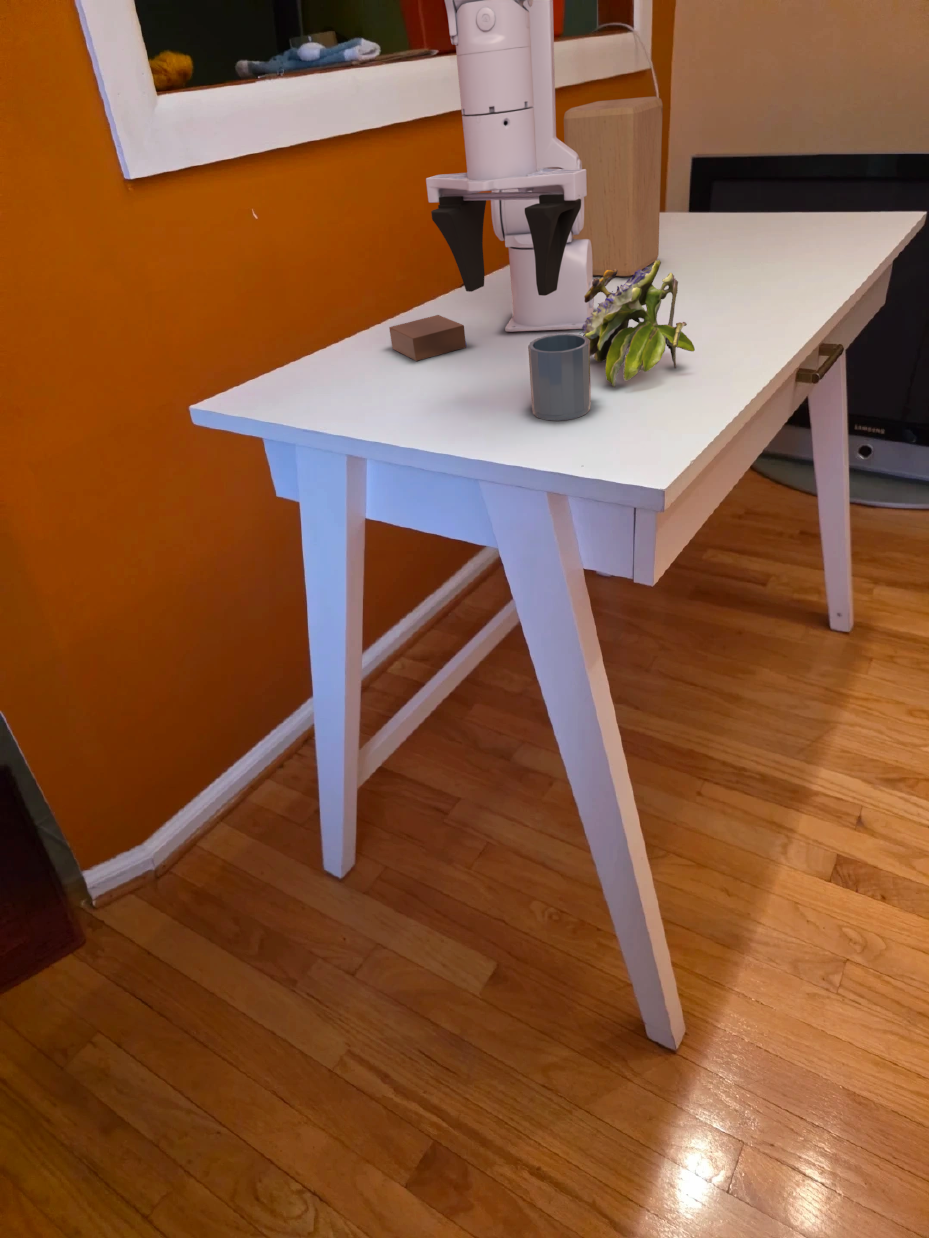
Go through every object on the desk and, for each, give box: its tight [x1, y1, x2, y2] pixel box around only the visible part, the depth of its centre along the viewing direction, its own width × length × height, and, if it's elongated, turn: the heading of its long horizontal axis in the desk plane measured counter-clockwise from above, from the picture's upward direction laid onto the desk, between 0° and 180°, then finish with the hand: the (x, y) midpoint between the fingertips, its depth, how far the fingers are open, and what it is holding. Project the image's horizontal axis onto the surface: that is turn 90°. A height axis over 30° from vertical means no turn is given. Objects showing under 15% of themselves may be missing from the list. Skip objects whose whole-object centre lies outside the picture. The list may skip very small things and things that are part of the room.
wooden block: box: [563, 95, 664, 278], centre depth 109 cm, size 10×10×20 cm
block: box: [388, 314, 467, 362], centre depth 93 cm, size 6×6×2 cm
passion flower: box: [579, 259, 696, 388], centre depth 78 cm, size 11×11×12 cm
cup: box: [527, 333, 592, 422], centre depth 72 cm, size 5×5×6 cm
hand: (510, 290), depth 72 cm, fingers open, 7 cm apart
